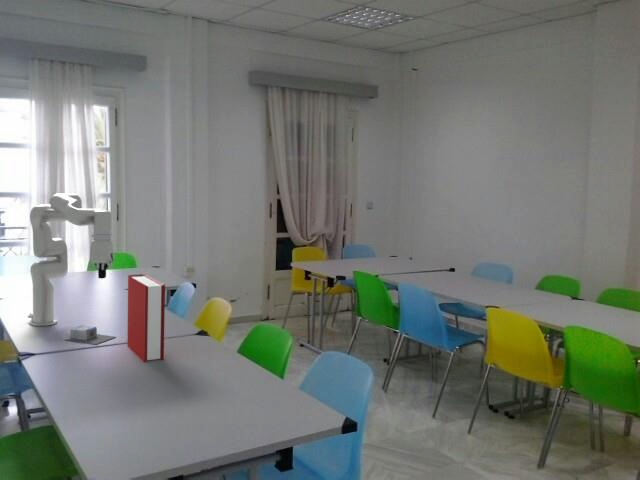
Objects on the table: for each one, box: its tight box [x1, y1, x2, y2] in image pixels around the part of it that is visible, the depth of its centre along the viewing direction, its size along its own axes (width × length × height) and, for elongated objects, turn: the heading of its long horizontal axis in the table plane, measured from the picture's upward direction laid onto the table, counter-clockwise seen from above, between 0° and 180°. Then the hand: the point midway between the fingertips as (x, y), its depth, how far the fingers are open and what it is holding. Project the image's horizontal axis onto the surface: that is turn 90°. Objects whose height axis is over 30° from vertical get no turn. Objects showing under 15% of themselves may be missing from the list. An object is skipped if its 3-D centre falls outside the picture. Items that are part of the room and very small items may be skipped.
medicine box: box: [69, 325, 98, 340], centre depth 277 cm, size 8×4×9 cm
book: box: [126, 273, 166, 363], centre depth 258 cm, size 27×8×32 cm, turn 33°
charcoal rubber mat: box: [64, 333, 117, 346], centre depth 276 cm, size 17×14×1 cm
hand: (102, 277), depth 272 cm, fingers closed
